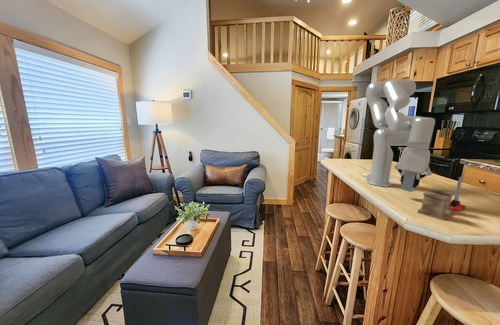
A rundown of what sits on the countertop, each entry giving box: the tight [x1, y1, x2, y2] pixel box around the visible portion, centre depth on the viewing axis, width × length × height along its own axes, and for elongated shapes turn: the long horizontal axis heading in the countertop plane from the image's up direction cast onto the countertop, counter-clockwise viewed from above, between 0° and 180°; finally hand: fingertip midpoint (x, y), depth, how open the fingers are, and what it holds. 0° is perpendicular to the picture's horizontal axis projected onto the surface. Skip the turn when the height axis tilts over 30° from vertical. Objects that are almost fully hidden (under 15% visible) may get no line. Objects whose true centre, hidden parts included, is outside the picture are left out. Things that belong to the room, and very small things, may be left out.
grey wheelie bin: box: [400, 170, 416, 193], centre depth 96 cm, size 5×5×10 cm
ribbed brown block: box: [417, 187, 455, 221], centre depth 83 cm, size 8×14×8 cm, turn 128°
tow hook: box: [449, 176, 467, 212], centre depth 88 cm, size 8×13×9 cm
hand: (408, 184), depth 97 cm, fingers closed on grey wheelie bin, 4 cm apart
